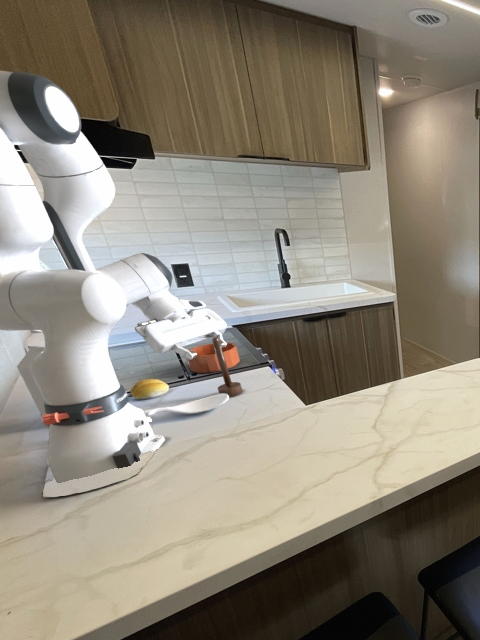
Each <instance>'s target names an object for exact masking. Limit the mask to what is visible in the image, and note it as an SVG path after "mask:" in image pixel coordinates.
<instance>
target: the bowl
mask: <svg viewBox="0 0 480 640" xmlns="http://www.w3.org/2000/svg"><path fill="white" fill-rule="evenodd" d="M226 343H227V345H226V347H223V348H222V351H223V354H224V358H225V361H226V365H227V368H228V369H231V368H233V367H235V366H236V365H238V363H240V362H241V358H240V355H239V352H238V348H237V344H235V343H233V342H226ZM188 350H189V351H190V350H193V351H194V352H195V353H196V354H197V356H196V358H193V359H191V360H190V359H188V358H187V357H186V356H184V357H185V360H186V362H187V365H188V369H189V370H190V371H191V372H194V373H197V374H208V373H209V374H210V373H217V372H221V369H220V365H219V362H218V358H217V355H216V352H215V348H214V345H213V343H207V344H202V345H197V346H195V347H192V348H189V349H188Z"/></svg>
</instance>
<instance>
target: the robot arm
mask: <svg viewBox="0 0 480 640" xmlns="http://www.w3.org/2000/svg"><path fill="white" fill-rule="evenodd" d="M81 130H82V119H81V116H80V113H79V111H78V108H77V107H76V104H75V103H74V101H73V100H72V99H71V97H70V96H69V95H68V94H67V93H66V92H65V91H64V90H63V89H62V88H61V87H60V86H58V84H56V83H55V82H54V81H52V80H50V78H48V77H44V76H42V75H38V74H35V73H30V72H25V71H21V70H20V71H19V70H18V71H17V70H16V71H7V70H0V331H7V332H11V331H12V332H13V331H14V332H15V331H16V332H17V331H41V332H42V333H43V338H44V347H45V349H44V351H43V352H42V353H40V354H39V355H37V356H36V357H35V358H34V359H33V360H32V362H31V364H30V372H31V374H32V376H33V378H34V380H35V382H36V384H37V386H38V388H39V390H40V392H41V394H42V396H43V398H44V400H45V403H44V407H45V414H44V415H43V416H41V420H42V422H43V424H44V425H45V426H48V425H49V426H48V429H49V430H48V447H47V464H48V466H47V470H46V475H45V478H44V482H45V481H46V480H48V479H52V478H55V480H56V482H57V483H62V482H66V481H69V480H73V479H79V478H83V477H88V476H92V475H95V474H98V473H101V472H104V471H107V470H110V469H114V468H118V469H119V468H123V467H128V466H131V465H132V464H133V463H134V462H138V461H140V457H139V456H140V454H142V453H145V452H148V451H152V450H153V451H155V450H156V449H158V450H159V449H160V448H161V446H162V445H163V444H164V442H165V441H166V439H165V437H164V435H163V434H154V431H153V429H152V427H151V425H150V422H151V423H152V418H151V417H146V416H145V415H144V413H143V411H144V410H143V409H142V408H140V407H137V406H135V405H133V404H131V403H130V402H129V401H130V398H129V396H128V392H127V390H126V389H125V387H124V386H123V384H121V383H120V382H119V379H118V377H117V374H116V371H115V369H114V366H113V363H112V360H111V357H110V352H109V339H110V335H111V332H112V329H113V327H114V326H115V325H116V323H117V322H119V321H120V320H121V319H122V318H123V316H124V315H125V312H126V310H127V307H128V306H129V305H132V306H133V307H134V308H137V309H138V310H140V311H141V312H142V314H143V316H144V317H145V318H146V319H148V320H146V321H141V322H137V324H136V325H135V326H134V331H135V332H136V333H137V334H138V335H139V336H140V337H142V338H143V340H144V342H145V343H146V344H147V346H149V347H150V348H151V349H152V351H154V352H155V353H157V354H165V353H167V352H172V351H173V352H175V353H176V354H179V355H182V356H184V357H185V356H186V357H187V358H188V359H190V360H191V359H193V358H196V356H197V354H196V353H195V352H194V351H193V350H190V351H189V349H187V348H185V347H186V346H190V345H192V344H196V343H199V342H201V341H204V340H207V339H211V338H212V339H213V338H214V337H217V338H219V341H220V344H221V347H222V348H223V347H226V345H227V343H228V342H226V341H225V340H224V338H223V334H224V333H225V331H226V330H227V329H228V325H227V322H226V321H225V320H224V319H223V318H222V317H221V316H220V315H218V313H216V312H215V311H214V310H212V309H210V308H208V307H207V305H206V303H205V302H204V301H202V300H188V299H179V298H178V297H177V296H176V295H174V294H172V293H171V291H170V289H171V288H172V283H173V273H172V272H171V270H170V269H169V268H168V267H167V266H166V265H165V264H164V263H163V262H162V261H161V260H160V259H159V258H158V257H157V256H154V255H151V254H149V253H144V252H140V253H136V254H135V253H134V254H132V255H130V256H127V257H124V258H122V259H119V260H117V261H115V262H113V263H110V264H107V265H104V266H102V267H98V268H95V265H94V264H93V262H92V259H91V257H90V255H89V252H88V251H87V248H86V246H85V244H84V242H83V234H84V232H85V230H86V229H87V227H88V226H89V225H91V223H92V222H93V221H95V219H97V218H98V217H99V216H100V215H102V214H103V213H104V212H105V211H106V210H108V208H109V207H110V206H111V205H112V203H113V202H114V199H115V195H116V186H115V184H114V183H115V182H114V180H113V178H112V176H111V174H110V172H109V170H108V168H107V167H106V165H105V164H104V162H103V160H102V159H101V157H100V155H99V154H98V152H97V151H96V149H95V148H94V147H93V145H92V144H91V142H90V141H89V140H88V138H87V137H86V136H85V134H84V133H83V132H82V131H81ZM15 146H18V149H20V152H21V153H22V155H23V156H24V158H25V159H26V161H27V163H28V165H29V166H30V167H31V169H32V170H33V172H34V173H35V175H36V176H37V177H38V179H39V181H40V183H41V184H40V185H41V186H42V190H43V200H42V198H41V196H40V193H39V191H38V189H37V187H36V186H35V182H34V180H33V179H32V176H31V174H30V172H29V170H28V168H27V166H26V164H25V163H24V161H23V158H22V157H21V156H20V154H19V152H18V150H16V148H15ZM50 240H51V241H52V243H53V245H54V247H55V248H56V251H57V252H58V254H59V257H60V258H61V260H62V262H63V264H64V266H65V269H62V268H61V269H42V267H41V263H40V250H41V248H42V246H43V245H45V244H47V243H48V242H49V241H50ZM206 307H207V308H206ZM186 357H185V358H186ZM153 451H152V452H153ZM50 481H52V480H50ZM42 491H43V489H42ZM42 491H41V492H42Z"/></svg>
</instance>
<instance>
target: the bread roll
mask: <svg viewBox="0 0 480 640" xmlns="http://www.w3.org/2000/svg"><path fill="white" fill-rule="evenodd" d="M169 390H170V386H169V385H168V384H167V383H165V381H162V380H161V379H157V378H147V379H146V378H145V379H142V380H139V381H137V382H136V383H134V384H133V385H132V387H131V388H130V392H129V393H130V394H131V396H132V397H133V399H135V400H137V401H142V400H143V401H144V400H150V399H154V398H158V397H160V396H163V395H164V394H166V393H168V391H169Z"/></svg>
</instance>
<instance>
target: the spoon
mask: <svg viewBox="0 0 480 640" xmlns="http://www.w3.org/2000/svg"><path fill="white" fill-rule="evenodd" d="M229 399H230V397H229V396H228V395H227V394H219V393H218V394H217V393H216V394H213V395H209V396H205V397H202V398H199V399H196V400H191V401H189V402H185V403H181V404H178V405H174V406H167V407H157V408H149V409H146V410H142V411H143V413H144V415H145V417H146V416H147V417H148V416H152V415H154V414H157V413H177V414H191V415H192V414H199V413H200V414H201V413H205V412H208V411H212V410H214V409H216V408H219V407H220V406H222V405H224V404H225V403H227V402H228V400H229Z"/></svg>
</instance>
